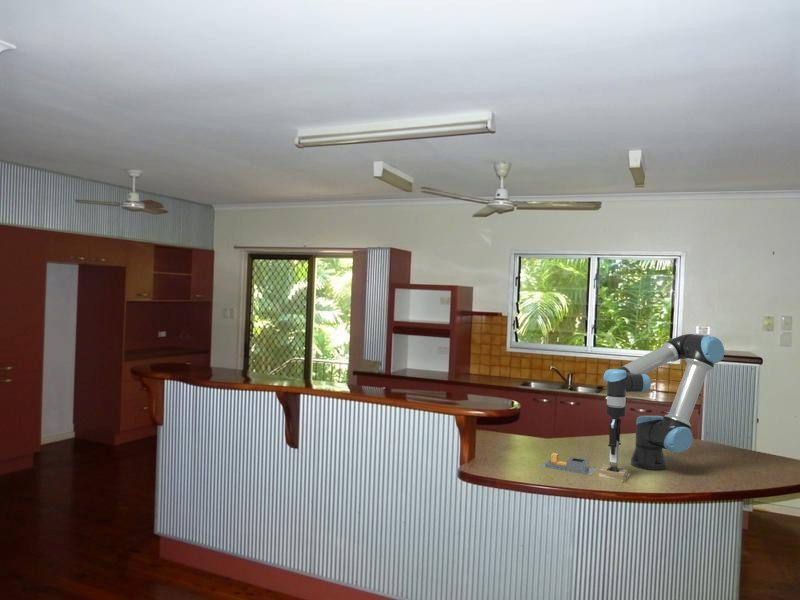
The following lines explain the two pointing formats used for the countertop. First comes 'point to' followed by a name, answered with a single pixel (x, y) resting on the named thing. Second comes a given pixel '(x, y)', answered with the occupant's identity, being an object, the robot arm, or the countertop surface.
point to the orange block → (556, 460)
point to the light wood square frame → (614, 473)
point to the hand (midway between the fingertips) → (613, 460)
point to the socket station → (572, 466)
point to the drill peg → (612, 464)
